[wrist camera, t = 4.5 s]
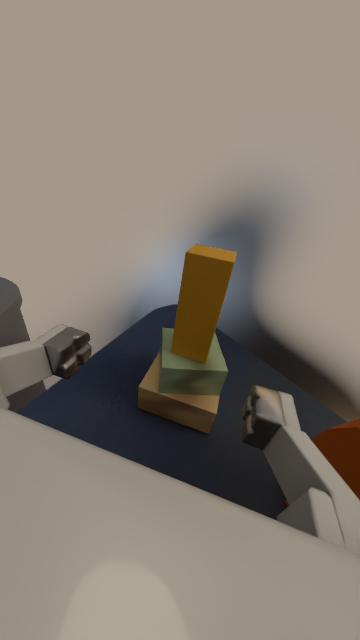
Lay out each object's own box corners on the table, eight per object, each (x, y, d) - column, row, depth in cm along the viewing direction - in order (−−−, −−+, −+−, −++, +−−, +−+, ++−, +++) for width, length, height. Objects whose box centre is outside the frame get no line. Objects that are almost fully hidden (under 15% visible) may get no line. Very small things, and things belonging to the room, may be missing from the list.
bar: (170, 352, 22) (185, 251, 17) (180, 333, 26) (196, 243, 20) (205, 363, 22) (234, 262, 16) (211, 342, 25) (236, 252, 19)
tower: (137, 408, 25) (139, 360, 21) (163, 360, 32) (168, 318, 28) (208, 434, 23) (226, 388, 19) (218, 378, 31) (232, 336, 27)
